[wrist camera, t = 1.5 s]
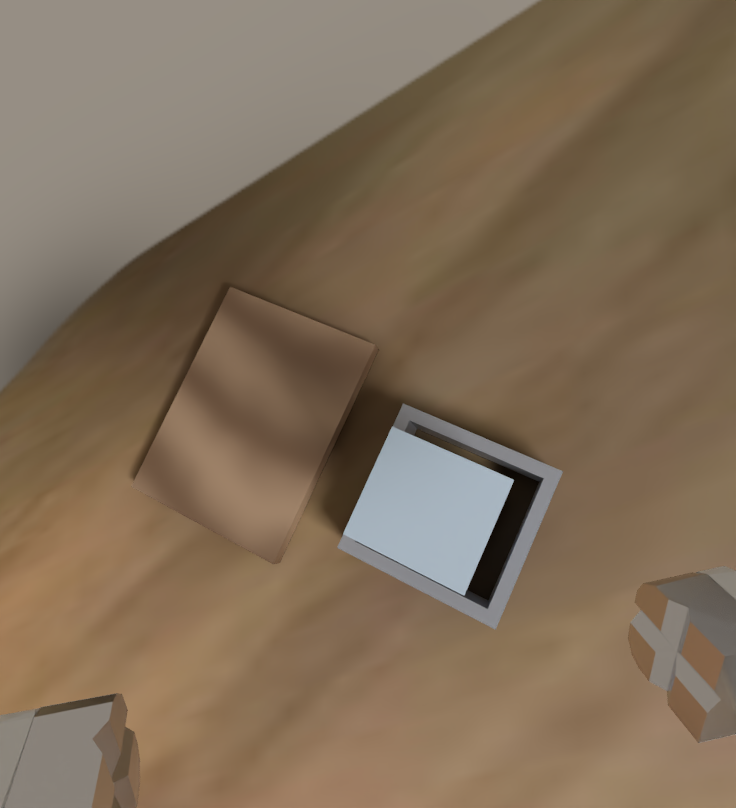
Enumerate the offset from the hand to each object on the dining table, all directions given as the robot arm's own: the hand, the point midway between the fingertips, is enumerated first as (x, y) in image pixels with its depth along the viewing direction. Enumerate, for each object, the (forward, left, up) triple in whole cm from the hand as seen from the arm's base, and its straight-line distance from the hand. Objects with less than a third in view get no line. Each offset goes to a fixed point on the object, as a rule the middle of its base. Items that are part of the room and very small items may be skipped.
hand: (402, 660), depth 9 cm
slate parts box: (-2, -2, -29) cm, 29 cm away
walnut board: (-2, -17, -29) cm, 34 cm away
